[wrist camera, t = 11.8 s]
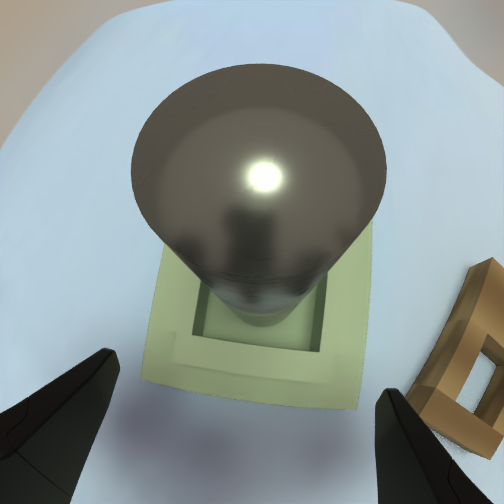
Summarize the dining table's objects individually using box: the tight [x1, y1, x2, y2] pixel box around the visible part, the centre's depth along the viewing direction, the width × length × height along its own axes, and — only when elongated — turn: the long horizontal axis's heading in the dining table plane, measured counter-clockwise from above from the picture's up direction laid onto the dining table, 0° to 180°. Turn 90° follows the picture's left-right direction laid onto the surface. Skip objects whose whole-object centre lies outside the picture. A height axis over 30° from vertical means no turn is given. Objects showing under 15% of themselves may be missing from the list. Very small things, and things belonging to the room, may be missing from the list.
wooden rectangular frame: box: [405, 257, 504, 460], centre depth 16 cm, size 12×9×3 cm
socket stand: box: [140, 219, 372, 410], centre depth 17 cm, size 13×13×4 cm
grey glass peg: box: [131, 64, 387, 327], centre depth 11 cm, size 4×4×14 cm
